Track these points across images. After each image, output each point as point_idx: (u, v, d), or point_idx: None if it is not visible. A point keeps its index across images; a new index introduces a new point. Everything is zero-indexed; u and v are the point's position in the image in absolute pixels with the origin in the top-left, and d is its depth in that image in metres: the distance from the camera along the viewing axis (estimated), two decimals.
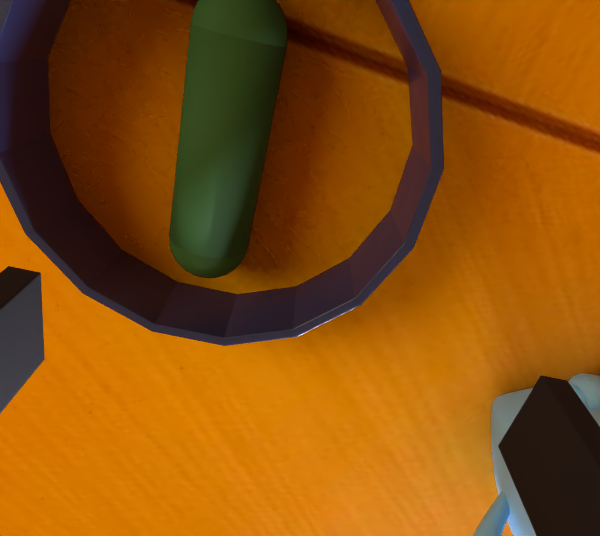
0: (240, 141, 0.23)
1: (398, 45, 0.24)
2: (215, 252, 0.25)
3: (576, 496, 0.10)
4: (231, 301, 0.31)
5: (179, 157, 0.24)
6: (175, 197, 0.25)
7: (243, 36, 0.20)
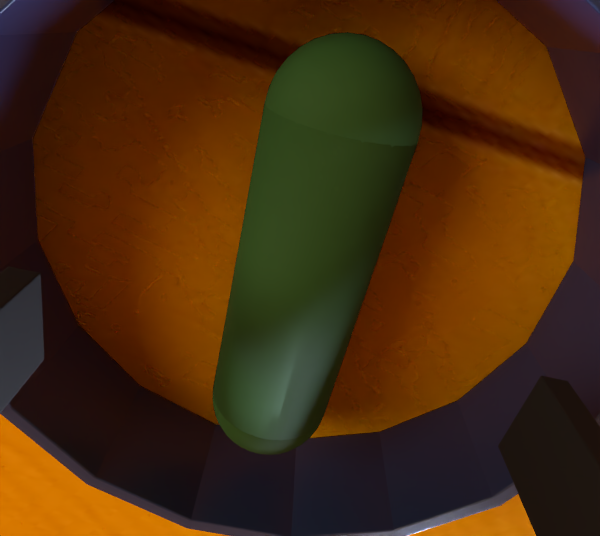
0: (340, 289, 0.14)
1: (580, 127, 0.15)
2: (285, 432, 0.17)
3: (576, 496, 0.10)
4: (291, 455, 0.22)
5: (236, 301, 0.15)
6: (227, 353, 0.16)
7: (365, 137, 0.12)
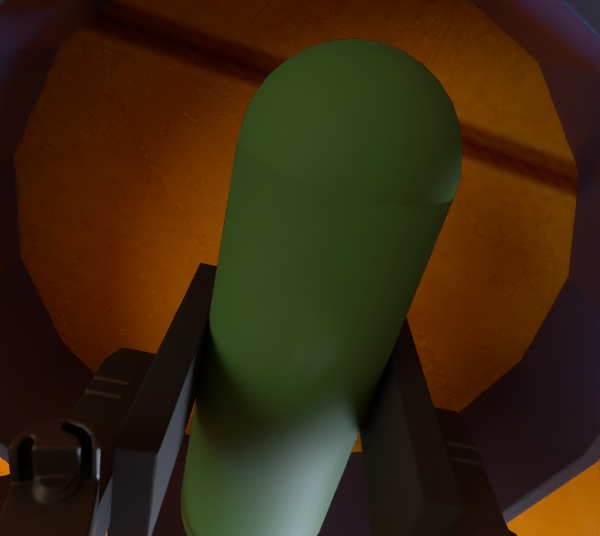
0: (345, 394, 0.10)
1: (574, 143, 0.15)
2: None
3: (380, 392, 0.12)
4: None
5: (205, 399, 0.11)
6: (194, 459, 0.12)
7: (384, 196, 0.08)
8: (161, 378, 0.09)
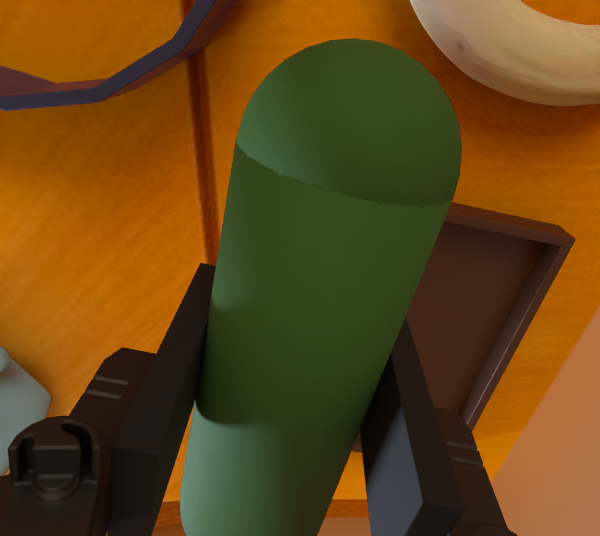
0: (344, 396, 0.10)
1: None
2: None
3: (380, 392, 0.12)
4: None
5: (203, 399, 0.11)
6: (193, 460, 0.12)
7: (383, 196, 0.08)
8: (161, 378, 0.09)
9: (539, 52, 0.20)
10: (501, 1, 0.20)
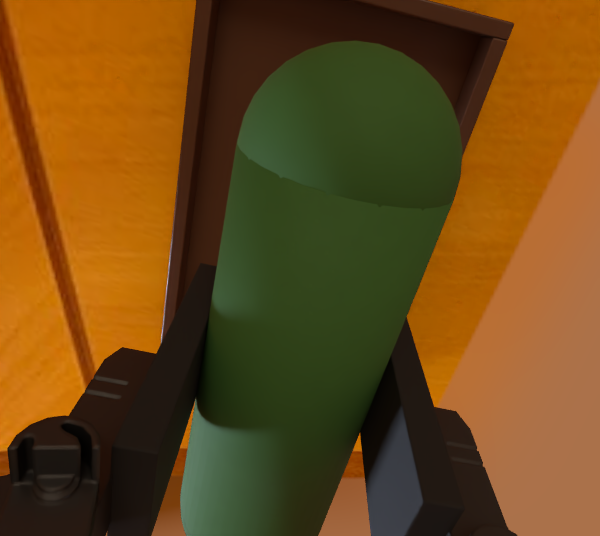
0: (345, 397, 0.10)
1: None
2: None
3: (380, 392, 0.12)
4: None
5: (204, 401, 0.11)
6: (194, 461, 0.12)
7: (383, 199, 0.08)
8: (161, 378, 0.09)
9: None
10: None
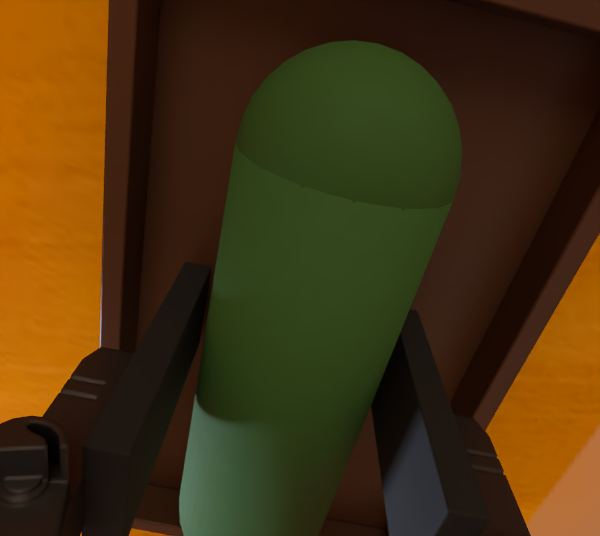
0: (326, 401, 0.10)
1: None
2: None
3: (397, 398, 0.12)
4: None
5: (198, 390, 0.12)
6: (189, 451, 0.13)
7: (358, 195, 0.08)
8: (138, 378, 0.09)
9: None
10: None
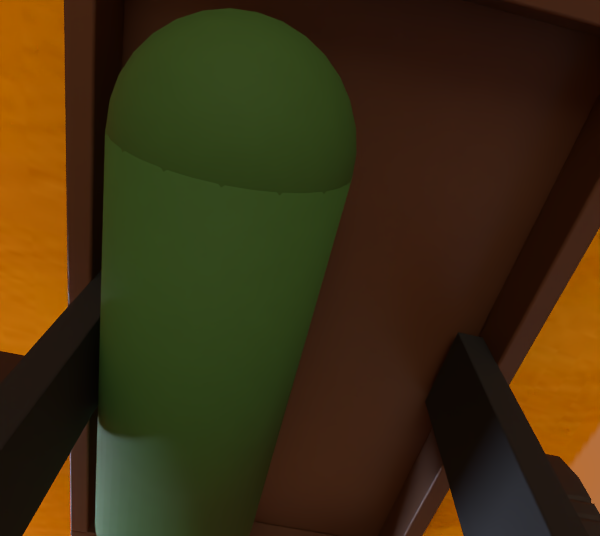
0: (135, 385, 0.09)
1: None
2: None
3: (474, 434, 0.11)
4: None
5: None
6: None
7: (126, 144, 0.07)
8: (19, 386, 0.08)
9: None
10: None
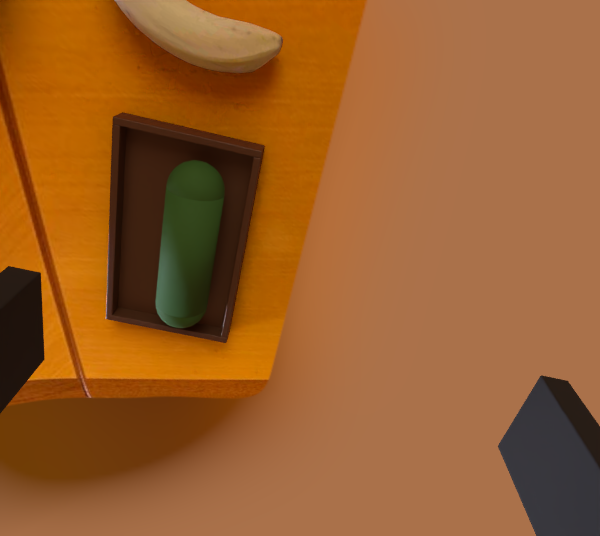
0: (210, 249, 0.38)
1: None
2: (198, 312, 0.41)
3: (576, 496, 0.10)
4: None
5: (169, 265, 0.38)
6: (167, 288, 0.39)
7: (212, 199, 0.36)
8: None
9: (175, 26, 0.31)
10: None
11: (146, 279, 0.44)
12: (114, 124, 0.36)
